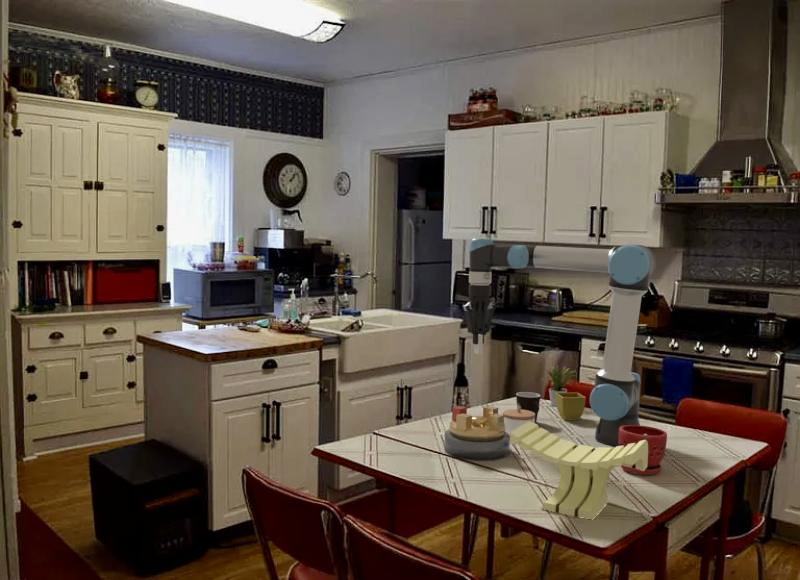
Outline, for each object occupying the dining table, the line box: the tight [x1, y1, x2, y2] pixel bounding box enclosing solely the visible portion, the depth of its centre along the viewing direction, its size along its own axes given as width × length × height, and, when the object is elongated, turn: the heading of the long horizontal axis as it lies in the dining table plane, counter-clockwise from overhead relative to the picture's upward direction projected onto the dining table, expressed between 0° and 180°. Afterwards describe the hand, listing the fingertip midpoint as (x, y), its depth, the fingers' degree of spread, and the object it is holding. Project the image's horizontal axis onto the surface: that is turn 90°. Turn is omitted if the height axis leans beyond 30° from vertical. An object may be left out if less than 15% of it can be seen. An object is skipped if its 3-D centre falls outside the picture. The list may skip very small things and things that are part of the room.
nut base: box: [443, 428, 511, 462], centre depth 226 cm, size 20×20×5 cm
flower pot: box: [556, 392, 587, 421], centre depth 268 cm, size 9×9×9 cm
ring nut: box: [449, 405, 506, 442], centre depth 225 cm, size 17×17×7 cm
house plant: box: [543, 364, 577, 407], centre depth 288 cm, size 14×14×16 cm
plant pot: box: [618, 424, 668, 476], centre depth 210 cm, size 13×13×12 cm
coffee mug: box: [515, 391, 541, 424], centre depth 260 cm, size 12×9×10 cm
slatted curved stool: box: [510, 422, 648, 519], centre depth 182 cm, size 30×16×18 cm, turn 59°
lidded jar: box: [502, 408, 535, 436], centre depth 244 cm, size 11×11×9 cm
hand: (477, 353), depth 248 cm, fingers closed
